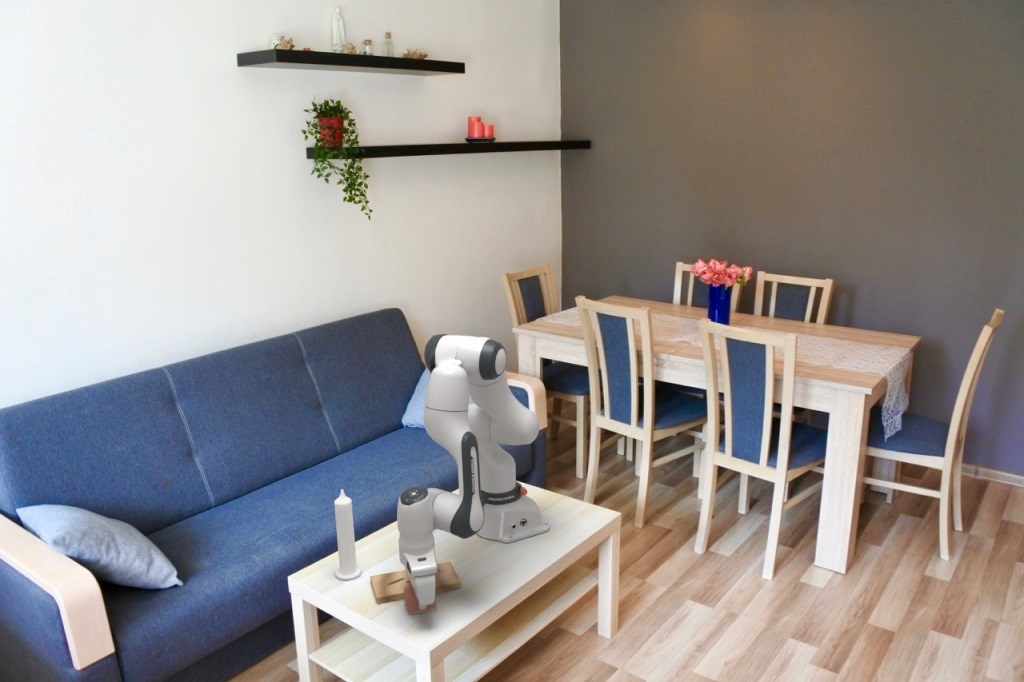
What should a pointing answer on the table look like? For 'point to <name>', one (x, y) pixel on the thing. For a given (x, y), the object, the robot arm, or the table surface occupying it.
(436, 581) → the plank
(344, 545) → the candle
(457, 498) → the robot arm
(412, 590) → the block
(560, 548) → the table surface
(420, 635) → the table surface
